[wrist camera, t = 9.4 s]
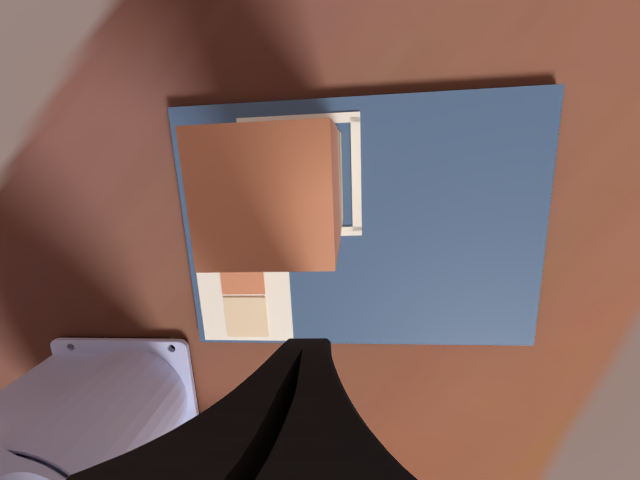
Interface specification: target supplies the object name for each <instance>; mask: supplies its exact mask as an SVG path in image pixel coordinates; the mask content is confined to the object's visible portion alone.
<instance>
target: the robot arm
mask: <svg viewBox="0 0 640 480" xmlns="http://www.w3.org/2000/svg"><path fill="white" fill-rule="evenodd" d="M72 345H73V346H74V347H73V346H72ZM171 345H173V346H174V347H175V349H173V348H172V347H171ZM50 347H51V351H52V355H51V356H50V357H48V358H47V359H46V360H44V361H43V362H41V363H40V364H38V365H37V366H35V367H34V368H32V369H31V370H29V371H28V372H27V373H25V374H24V375H22V376H21V377H19V378H18V379H16V380H15V381H13V382H12V383H10V384H9V385H8V386H6V387H5V388H3V389H2V390H0V480H417V479H416V478H415V477H414V476H413V475H412V474H410V473H409V472H408V471H407V470H406V469H405V468H404V467H403V466H402V465H401V464H400V463H399V462H398V461H397V460H396V459H395V458H394V457H393V456H392V455H391V454H390V453H389V452H388V451H387V450H386V449H385V447H384V446H383V445H382V444H381V443H380V441H379V440H378V439H377V438H376V437H375V435H374V434H373V433H372V432H371V431H370V429H369V428H368V427H367V425H366V424H365V422H364V421H363V420H362V418H361V417H360V415H359V414H358V412H357V411H356V409H355V407H354V406H353V404H352V403H351V401H350V399H349V397H348V395H347V393H346V391H345V389H344V387H343V385H342V383H341V381H340V379H339V377H338V374H337V371H336V369H335V366H334V363H333V360H332V356H331V342H330V341H329V340H328V339H327V338H289V339H288V340H287V341H286V342H285V343H284V344H283V345H282V346H281V347H280V348H279V349H278V350H277V351H276V352H275V353H274V354H273V355H272V356H271V357H270V358H269V359H268V360H267V361H266V362H265V363H264V364H262V365H261V366H260V367H259V368H258V369H257V370H256V371H255V372H254V373H253V374H252V375H251V376H249V377H248V378H247V379H246V380H245V381H244V382H242V383H241V384H240V385H239V386H238V387H237V388H235V389H234V390H233V391H232V392H230V393H229V394H228V395H226V396H225V397H224V398H222V399H221V400H220V401H218V402H217V403H215V404H214V405H212V406H211V407H209V408H208V409H207V410H205V411H203V412H202V413H200V414H199V411H198V405H197V398H196V391H195V384H194V378H193V371H192V364H191V358H190V351H189V345H188V343H187V342H186V341H185V340H183V339H148V338H56V339H55V340H53V341H52V342H51V344H50Z"/></svg>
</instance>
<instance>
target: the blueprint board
mask: <svg viewBox="0 0 640 480" xmlns="http://www.w3.org/2000/svg"><path fill="white" fill-rule="evenodd" d="M563 93H564V84H554V85H537V86H520V87H503V88H487V89H470V90H453V91H436V92H419V93H402V94H385V95H368V96H351V97H334V98H317V99H300V100H283V101H267V102H250V103H233V104H216V105H199V106H182V107H167V108H168V115H169V122H170V129H171V136H172V143H173V150H174V158H175V165H176V172H177V179H178V186H179V193H180V200H181V208H182V215H183V222H184V229H185V236H186V243H187V250H188V258H189V265H190V272H191V279H192V286H193V293H194V300H195V308H196V315H197V322H198V329H199V336H200V342H256V343H285V342H286V341H287V340H288V339H289V338H327V339H328V340H329V341H330V342H331V343H350V344H443V345H534V340H535V331H536V323H537V314H538V306H539V297H540V289H541V280H542V272H543V263H544V255H545V246H546V238H547V229H548V221H549V212H550V204H551V195H552V187H553V178H554V169H555V161H556V152H557V144H558V135H559V127H560V118H561V110H562V101H563ZM312 118H331V119H332V121H333V122H334V123H335V125H336V126H337V129H338V130H339V131H340V132H341V148H342V184H343V224H342V230H341V238H340V244H339V251H338V257H337V264H336V270H335V271H320V272H222V273H195V267H194V260H193V253H192V245H191V238H190V231H189V223H188V216H187V209H186V202H185V194H184V187H183V180H182V172H181V165H180V158H179V151H178V143H177V136H176V129H175V126H183V125H201V124H220V123H238V122H257V121H275V120H294V119H312Z"/></svg>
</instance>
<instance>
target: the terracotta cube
mask: <svg viewBox="0 0 640 480" xmlns="http://www.w3.org/2000/svg"><path fill="white" fill-rule="evenodd" d="M175 129H176V136H177V143H178V151H179V158H180V165H181V172H182V180H183V187H184V194H185V202H186V209H187V216H188V223H189V231H190V238H191V245H192V253H193V260H194V267H195V273H222V272H320V271H335V270H336V264H337V257H338V251H339V244H340V238H341V230H340V196H339V163H338V130H337V126H336V125H335V123H334V122H333V121H332V119H331V118H312V119H294V120H275V121H257V122H238V123H220V124H201V125H183V126H175Z"/></svg>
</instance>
